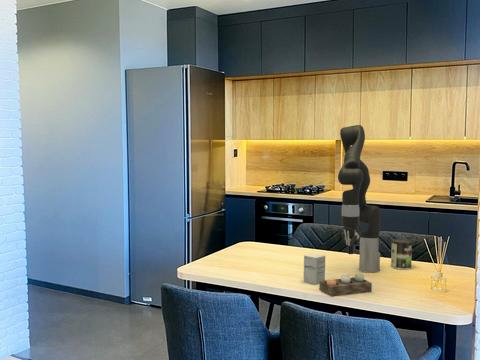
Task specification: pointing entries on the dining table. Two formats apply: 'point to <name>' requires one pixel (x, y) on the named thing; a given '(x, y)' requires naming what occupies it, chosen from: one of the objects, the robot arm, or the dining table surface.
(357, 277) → the sage button
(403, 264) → the coffee can
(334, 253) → the dining table surface
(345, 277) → the cream pill shape
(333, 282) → the terracotta button
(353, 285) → the frame
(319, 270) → the supplement box
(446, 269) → the dining table surface
